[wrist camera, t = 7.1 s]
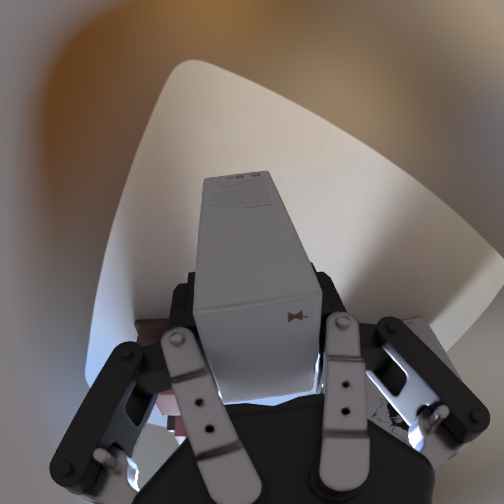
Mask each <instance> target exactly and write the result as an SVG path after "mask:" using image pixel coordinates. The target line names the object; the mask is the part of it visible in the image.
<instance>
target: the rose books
mask: <svg viewBox="0 0 504 504" xmlns="http://www.w3.org/2000/svg"><path fill="white" fill-rule="evenodd" d="M156 405H157V407H158V408H159V410H160V412H161V414H162V415H176V416H175V438H176V439H177V441H178V443H179V444H181V443H182V442H183V441H184V439H185V438H186V437H187V436H188V435H187V432H186V429H185V426H184V423H183V420H182V417H181V414H180V411H179V408H178V405H177V401H176V398H175V395H174V392H173V389H170V390H167V391H164V392H160V393H159V396H158V398H157V400H156Z"/></svg>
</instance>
